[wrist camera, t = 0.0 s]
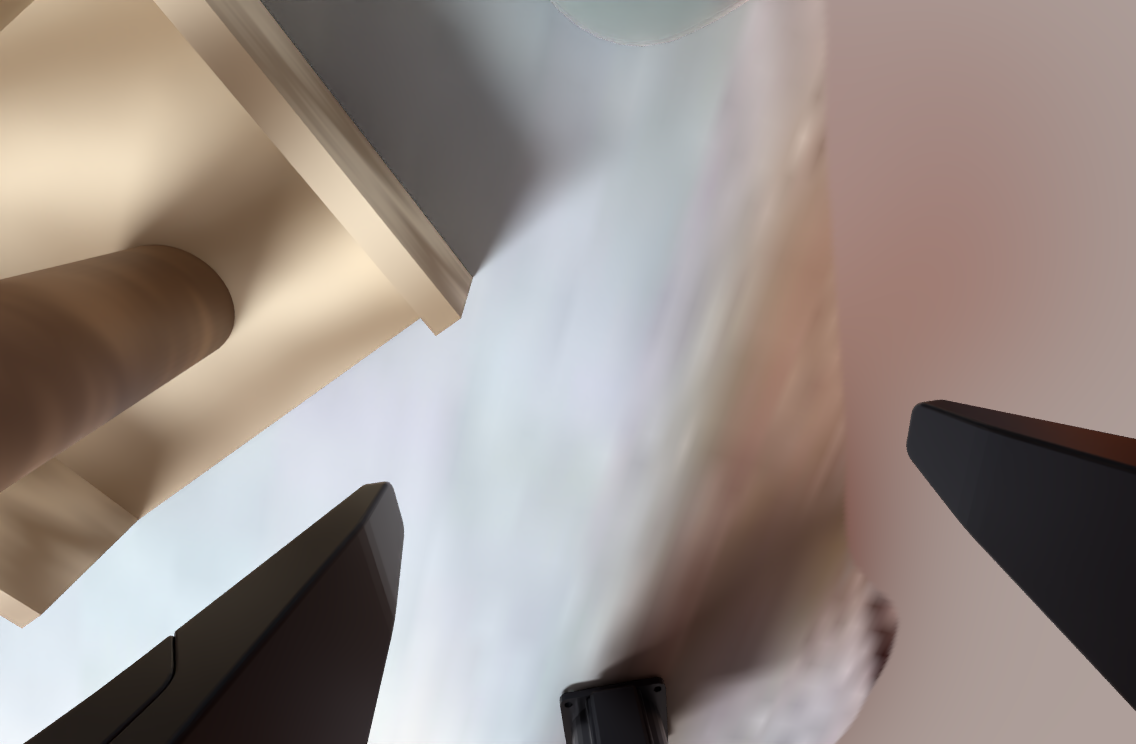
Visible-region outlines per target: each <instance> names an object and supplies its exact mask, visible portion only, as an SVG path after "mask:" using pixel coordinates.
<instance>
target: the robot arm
mask: <svg viewBox="0 0 1136 744" xmlns="http://www.w3.org/2000/svg"><path fill="white" fill-rule="evenodd" d="M906 447H907V452H908V455H909V457H910V459H911V460H912V462H913V463H914V464H915V465H916V467H917V468H918V469H919V471H920V472H921V473H922V474H923V476H924V477H925V478H926V479H927V481H928V482H929V483H930V485H931V486H932V487H933V488H934V490H935V491H936V492H937V493H938V495H939V496H940V497H941V499H942V500H943V501H944V503H945V504H946V505H947V506H948V508H949V509H950V510H951V512H952V513H953V514H954V515H955V517H956V518H957V519H958V520H959V522H960V523H961V524H962V525H963V526H964V528H965V529H966V530H967V531H968V532H969V533H970V535H971V536H972V537H973V538H974V539H975V540H976V541H977V542H978V543H979V544H980V545H981V547H982V548H983V549H984V550H985V551H986V552H987V553H988V554H989V555H990V556H991V557H992V558H993V559H994V560H995V561H996V562H997V564H998V565H999V566H1000V567H1001V568H1002V569H1003V570H1004V571H1005V572H1006V573H1007V574H1008V575H1009V576H1010V577H1011V579H1012V580H1013V581H1014V582H1015V583H1016V584H1017V585H1018V586H1019V587H1020V588H1021V589H1022V590H1023V591H1024V592H1025V593H1026V595H1027V596H1028V597H1029V598H1030V599H1031V600H1032V601H1033V602H1034V603H1035V604H1036V605H1037V606H1038V607H1039V608H1040V609H1041V611H1042V612H1043V613H1044V614H1045V615H1046V616H1047V617H1048V618H1049V619H1050V620H1051V621H1052V622H1053V623H1054V624H1055V625H1056V627H1057V628H1058V629H1059V630H1060V631H1061V632H1062V633H1063V634H1064V635H1065V636H1066V637H1067V638H1068V639H1069V640H1070V641H1071V643H1073V645H1074V646H1075V647H1076V648H1077V649H1078V650H1079V651H1080V652H1081V653H1082V654H1083V655H1084V656H1085V657H1086V659H1087V660H1089V662H1090V663H1091V664H1092V665H1093V666H1094V667H1095V668H1096V669H1097V670H1098V671H1099V672H1100V673H1101V675H1102V676H1103V677H1104V678H1105V679H1106V680H1107V681H1108V682H1109V683H1110V684H1111V685H1112V686H1113V687H1114V688H1115V689H1116V690H1117V691H1118V693H1119V694H1120V695H1121V696H1122V697H1123V698H1124V699H1125V700H1126V701H1127V702H1128V703H1129V704H1130V705H1131V707H1132V708H1133V709H1134V710H1135V711H1136V439H1134V438H1128V437H1124V436H1119V435H1113V434H1109V433H1104V432H1099V431H1094V430H1089V429H1084V428H1079V427H1075V426H1070V425H1065V424H1060V423H1055V422H1050V421H1045V420H1040V419H1035V418H1030V417H1025V416H1020V415H1016V414H1010V413H1005V412H1001V411H996V410H991V409H986V408H981V407H976V406H971V405H966V404H961V403H957V402H951V401H946V400H934V401H927V402H922V403H918V404H917V405H916V406H915V407H914V408H913V410H912V414H911V420H910V426H909V432H908V437H907V444H906ZM403 540H404V526H403V521H402V517H401V513H400V510H399V506H398V503H397V499H396V496H395V492H394V489H393V487H392V485H391V484H390V483H389V482H378V483H372V484H366V485H363V486H362V487H360V488H359V489H358V490H357V491H355V492H354V493H353V494H351V495H350V496H349V497H348V498H346V499H345V500H344V501H342V502H341V503H340V504H339V505H337V506H336V507H335V508H333V509H332V510H331V511H330V512H328V513H327V514H326V515H324V516H323V517H322V518H321V519H319V520H318V521H317V522H315V523H314V524H313V525H312V526H310V527H309V528H308V529H306V530H305V531H304V532H302V533H301V534H300V535H299V536H297V537H296V538H295V539H293V540H292V541H291V542H290V543H288V544H287V545H286V546H284V547H283V548H282V549H281V550H279V551H278V552H277V553H275V554H274V555H273V556H272V557H270V558H269V559H268V560H266V561H265V562H264V563H263V564H261V565H260V566H259V567H257V568H256V569H255V570H254V571H252V572H251V573H250V574H248V575H247V576H246V577H245V578H243V579H242V580H241V581H239V582H238V583H237V584H236V585H234V586H233V587H232V588H230V589H229V590H228V591H227V592H225V593H224V594H223V595H221V596H220V597H219V598H218V599H216V600H215V601H214V602H212V603H211V604H210V605H209V606H207V607H206V608H205V609H203V610H202V611H201V612H200V613H198V614H197V615H196V616H194V617H193V618H192V619H190V620H189V621H188V622H187V623H185V624H184V625H183V626H181V627H180V628H179V629H178V630H176V631H175V634H174V636H169V637H167V638H166V639H164V640H163V641H162V642H161V643H159V644H158V645H157V646H156V647H154V648H153V649H152V650H150V651H149V652H148V653H147V654H145V655H144V656H143V657H142V658H140V659H139V660H138V661H136V662H135V663H134V664H132V665H131V666H130V667H128V668H127V669H126V670H124V671H123V672H122V673H120V674H119V675H118V676H116V677H115V678H114V679H112V680H111V681H110V682H108V683H107V684H106V685H104V686H103V687H102V688H101V689H99V690H98V691H97V692H95V693H94V694H92V695H91V696H90V697H88V698H87V699H85V700H84V701H83V702H81V703H80V704H78V705H77V706H76V707H74V708H73V709H72V710H70V711H69V712H67V713H66V714H65V715H63V716H62V717H60V718H59V719H58V720H56V721H55V722H53V723H52V724H51V725H49V726H48V727H46V728H45V729H44V730H42V731H41V732H39V733H38V734H37V735H35V736H34V737H32V738H31V739H29V740H28V741H27V742H25V743H24V744H367V742H368V737H369V733H370V729H371V724H372V720H373V716H374V711H375V707H376V702H377V698H378V694H379V689H380V685H381V681H382V676H383V672H384V667H385V663H386V659H387V654H388V650H389V645H390V641H391V637H392V632H393V627H394V621H395V614H396V606H397V597H398V587H399V578H400V569H401V559H402V550H403ZM560 708H561V714H562V720H563V726H564V732H565V738H566V744H668V729H667V707H666V687H665V684H664V681H663V679H662V678H659V677H657V678H650V679H644V680H639V681H633V682H627V683H621V684H616V685H610V686H604V687H598V688H593V689H587V690H581V691H575V692H570V693H565V694H563V695H562V696H561V697H560Z"/></svg>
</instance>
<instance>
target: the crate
mask: <svg viewBox="0 0 1136 744" xmlns="http://www.w3.org/2000/svg"><path fill="white" fill-rule="evenodd" d="M144 245H166V246H171V247H175V248H178V249H182V250H184V251H186V252H189V253H191V254H193V255H194V256H196V257H198V258H200V259H201V260H202V261H204V262H205V263H207V264H208V265H209V266H210V267H211V268H212V269H213V270H214V271H215V272H216V273H217V274H218V275H219V276H220V278H221V279H222V280H223V282H224V283H225V285H226V287H227V288H228V290H229V292H230V295H231V297H232V301H233V304H234V310H235V320H234V326H233V329H232V332H231V334H230V336H229V338H228V339H227V341H226V342H225V343H224V344H223V345H222V346H221V347H220V348H219V349H217V350H216V351H215V352H213V353H212V354H210V355H208V356H207V357H205V358H204V359H202V360H201V361H199V362H198V363H196V364H195V365H193V366H192V367H190V368H189V369H187V370H186V371H184V372H183V373H181V374H180V375H178V376H177V377H175V378H174V379H172V380H170V381H169V382H167V383H166V384H164V385H163V386H161V387H160V388H158V389H157V390H155V391H154V392H152V393H151V394H149V395H148V396H146V397H145V398H143V399H142V400H140V401H139V402H137V403H136V404H134V405H133V406H131V407H129V408H128V409H126V410H125V411H123V412H122V413H120V414H119V415H117V416H116V417H114V418H113V419H111V420H110V421H108V422H107V423H105V424H104V425H102V426H101V427H99V428H98V429H96V430H95V431H93V432H91V433H90V434H88V435H87V436H85V437H84V438H82V439H81V440H79V441H78V442H76V443H75V444H73V445H72V446H70V447H69V448H67V449H66V450H64V451H63V452H61V453H60V454H58V455H57V456H55V457H53V458H52V459H50V460H49V461H47V462H46V463H44V464H43V465H41V466H40V467H38V468H37V469H35V470H34V471H32V472H31V473H29V474H28V475H26V476H25V477H23V478H22V479H20V480H19V481H17V482H16V483H14V484H12V485H11V486H9V487H8V488H6V489H5V490H3V491H2V492H0V615H1V616H2V617H4V618H6V619H7V620H9V621H11V622H12V623H14V624H16V625H17V626H19V627H21V628H23V627H25V626H26V625H27V624H29V623H30V622H32V621H33V620H34V619H36V618H37V617H39V616H40V615H41V614H42V613H43V612H44V611H45V610H47V609H48V608H49V607H50V606H51V605H52V604H53V603H54V602H55V601H56V600H57V599H58V598H59V597H60V596H61V595H62V594H63V593H64V592H65V591H66V590H67V589H68V588H69V587H70V586H71V585H72V584H73V583H74V582H75V581H76V580H77V579H78V578H79V577H80V576H81V575H82V574H83V573H84V572H85V571H86V570H87V569H88V568H89V567H91V566H92V565H93V564H94V563H95V562H96V561H97V560H98V559H99V558H100V557H101V556H102V555H103V554H104V553H105V552H106V551H107V550H108V549H109V548H110V547H111V546H112V545H113V544H114V543H115V542H116V541H117V540H118V539H119V538H120V537H121V536H122V535H123V534H124V533H125V532H126V531H127V530H128V529H129V528H130V527H131V526H132V525H133V524H135V523H136V522H137V521H138V520H139V519H140V518H141V517H143V516H144V515H146V514H147V513H148V512H150V511H151V510H153V509H154V508H155V507H157V506H158V505H160V504H161V503H162V502H164V501H165V500H167V499H168V498H169V497H171V496H172V495H174V494H175V493H176V492H178V491H179V490H181V489H182V488H183V487H185V486H186V485H188V484H189V483H190V482H192V481H193V480H195V479H196V478H197V477H199V476H200V475H202V474H203V473H204V472H206V471H207V470H209V469H210V468H211V467H213V466H214V465H216V464H217V463H218V462H220V461H221V460H223V459H224V458H225V457H227V456H228V455H229V454H231V453H232V452H234V451H235V450H236V449H238V448H239V447H241V446H242V445H243V444H245V443H246V442H248V441H249V440H250V439H252V438H253V437H255V436H256V435H257V434H259V433H260V432H262V431H263V430H264V429H266V428H267V427H269V426H270V425H271V424H273V423H274V422H276V421H277V420H278V419H280V418H281V417H283V416H284V415H285V414H287V413H288V412H290V411H291V410H292V409H294V408H295V407H297V406H298V405H299V404H301V403H302V402H304V401H305V400H306V399H308V398H309V397H311V396H312V395H313V394H315V393H316V392H318V391H319V390H320V389H322V388H323V387H325V386H326V385H327V384H329V383H330V382H331V381H333V380H334V379H336V378H337V377H338V376H340V375H341V374H343V373H344V372H345V371H347V370H348V369H350V368H351V367H352V366H354V365H355V364H357V363H358V362H359V361H361V360H362V359H364V358H365V357H366V356H368V355H369V354H371V353H372V352H373V351H375V350H376V349H378V348H379V347H380V346H382V345H383V344H385V343H386V342H387V341H389V340H390V339H392V338H393V337H394V336H396V335H397V334H399V333H400V332H401V331H403V330H404V329H406V328H407V327H408V326H410V325H411V324H413V323H414V322H415V321H417V320H418V319H420V318H421V319H422V320H423V321H424V323H425V324H426V325H427V326H428V327H429V329H430V330H431V331H432V332H433V333H434V334H435V336H436V335H438V334H439V333H441V332H442V331H444V330H445V329H446V328H448V327H449V326H451V325H452V324H453V323H455V322H456V321H458V320H459V319H461V316H462V313H463V310H464V306H465V303H466V299H467V296H468V293H469V289H470V286H471V282H472V279H473V277H472V276H471V275H470V274H469V272H468V271H467V270H466V268H465V267H464V266H463V264H462V263H461V262H460V261H459V259H458V258H457V257H456V255H455V254H454V253H453V251H452V250H451V249H450V248H449V246H448V245H447V244H446V242H445V241H444V240H443V238H442V237H441V236H440V234H439V233H438V232H437V231H436V229H435V228H434V227H433V225H432V224H431V223H430V221H429V220H428V219H427V218H426V216H425V215H424V214H423V212H422V211H421V210H420V208H419V207H418V206H417V204H416V203H415V202H414V201H413V199H412V198H411V197H410V195H409V194H408V193H407V191H406V190H405V189H404V188H403V186H402V185H401V184H400V182H399V181H398V180H397V178H396V177H395V176H394V175H393V173H392V172H391V171H390V169H389V168H388V167H387V165H386V164H385V163H384V161H383V160H382V159H381V158H380V156H379V155H378V154H377V152H376V151H375V150H374V148H373V147H372V146H371V145H370V143H369V142H368V141H367V139H366V138H365V137H364V135H363V134H362V133H361V132H360V130H359V129H358V128H357V126H356V125H355V124H354V122H353V121H352V120H351V118H350V117H349V116H348V115H347V113H346V112H345V111H344V109H343V108H342V107H341V105H340V104H339V103H338V102H337V100H336V99H335V98H334V96H333V95H332V94H331V92H330V91H329V90H328V88H327V87H326V86H325V85H324V83H323V82H322V81H321V79H320V78H319V77H318V75H317V74H316V73H315V72H314V70H313V69H312V68H311V66H310V65H309V64H308V62H307V61H306V60H305V59H304V57H303V56H302V55H301V53H300V52H299V51H298V49H297V48H296V47H295V45H294V44H293V43H292V42H291V40H290V39H289V38H288V36H287V35H286V34H285V32H284V31H283V30H282V29H281V27H280V26H279V25H278V23H277V22H276V21H275V19H274V18H273V17H272V15H271V14H270V13H269V12H268V10H267V9H266V8H265V6H264V5H263V4H262V2H261V1H260V0H0V279H4V278H9V277H13V276H17V275H21V274H25V273H30V272H34V271H38V270H42V269H46V268H50V267H55V266H59V265H63V264H67V263H71V262H76V261H80V260H84V259H88V258H92V257H97V256H101V255H105V254H109V253H113V252H118V251H122V250H126V249H130V248H134V247H139V246H144Z"/></svg>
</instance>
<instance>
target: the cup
mask: <svg viewBox="0 0 1136 744" xmlns="http://www.w3.org/2000/svg"><path fill="white" fill-rule="evenodd" d="M550 1H551V2H552V4H553V5H554V6H555V7H556V8H557V9H558V11H559V12H561V13H562V14H563V15H564V16H565V17H567V18H568V19H569V20H570V21H571V22H573V23H574V24H575V25H576V26H578V27H579V28H581V29H583V30H585V31H586V32H588V33H590V34H592V35H594V36H595V37H597V38H601V39H604V40H607V41H610V42H613V43H616V44H619V45H629V46H640V47H643V46H649V45H655V44H661V43H667V42H671V41H674V40H677V39H679V38H682V37H684V36H686V35H688V34H690V33H692V32H695V31H697V30H699V29H701V28H703V27H705V26H707V25H709V24H711V23H713V22H715V21H717V20H718V19H720V18H722V17H724V16H725V15H727V14H728V13H730V12H731V11H733V10H735V9H736V8H738V7H739V6H741V5H742V4H744V3H745V2H747V1H748V0H550Z"/></svg>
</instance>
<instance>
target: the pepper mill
mask: <svg viewBox="0 0 1136 744" xmlns="http://www.w3.org/2000/svg"><path fill="white" fill-rule="evenodd" d="M234 320H235V310H234V304H233V301H232V297H231V295H230V292H229V290H228V288H227V287H226V285H225V283H224V282H223V280H222V279H221V278H220V276H219V275H218V274H217V273H216V272H215V271H214V270H213V269H212V268H211V267H210V266H209V265H208V264H207V263H205V262H204V261H202V260H201V259H200V258H198V257H196V256H194V255H193V254H191V253H189V252H186V251H184V250H182V249H178V248H175V247H171V246H166V245H144V246H139V247H134V248H130V249H126V250H122V251H118V252H113V253H109V254H105V255H101V256H97V257H92V258H88V259H84V260H80V261H76V262H71V263H67V264H63V265H59V266H55V267H50V268H46V269H42V270H38V271H34V272H30V273H25V274H21V275H17V276H13V277H9V278H4V279H0V492H2V491H3V490H5V489H6V488H8V487H9V486H11V485H12V484H14V483H16V482H17V481H19V480H20V479H22V478H23V477H25V476H26V475H28V474H29V473H31V472H32V471H34V470H35V469H37V468H38V467H40V466H41V465H43V464H44V463H46V462H47V461H49V460H50V459H52V458H53V457H55V456H57V455H58V454H60V453H61V452H63V451H64V450H66V449H67V448H69V447H70V446H72V445H73V444H75V443H76V442H78V441H79V440H81V439H82V438H84V437H85V436H87V435H88V434H90V433H91V432H93V431H95V430H96V429H98V428H99V427H101V426H102V425H104V424H105V423H107V422H108V421H110V420H111V419H113V418H114V417H116V416H117V415H119V414H120V413H122V412H123V411H125V410H126V409H128V408H129V407H131V406H133V405H134V404H136V403H137V402H139V401H140V400H142V399H143V398H145V397H146V396H148V395H149V394H151V393H152V392H154V391H155V390H157V389H158V388H160V387H161V386H163V385H164V384H166V383H167V382H169V381H170V380H172V379H174V378H175V377H177V376H178V375H180V374H181V373H183V372H184V371H186V370H187V369H189V368H190V367H192V366H193V365H195V364H196V363H198V362H199V361H201V360H202V359H204V358H205V357H207V356H208V355H210V354H212V353H213V352H215V351H216V350H217V349H219V348H220V347H221V346H222V345H223V344H224V343H225V342H226V341H227V339H228V338H229V336H230V334H231V332H232V329H233V326H234Z"/></svg>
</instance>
